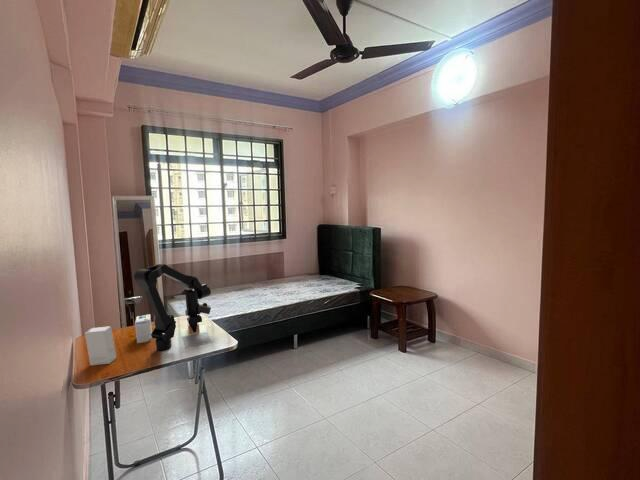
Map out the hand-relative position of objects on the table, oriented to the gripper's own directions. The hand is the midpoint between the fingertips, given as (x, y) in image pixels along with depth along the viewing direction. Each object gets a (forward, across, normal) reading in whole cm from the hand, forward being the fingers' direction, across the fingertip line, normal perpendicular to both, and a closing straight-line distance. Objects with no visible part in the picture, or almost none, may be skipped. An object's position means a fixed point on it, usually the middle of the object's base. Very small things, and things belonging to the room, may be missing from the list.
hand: (194, 332), depth 170 cm
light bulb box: (+2, +12, +23) cm, 26 cm away
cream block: (-1, +2, 0) cm, 2 cm away
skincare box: (+2, -9, +38) cm, 40 cm away
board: (+2, -2, 0) cm, 3 cm away
